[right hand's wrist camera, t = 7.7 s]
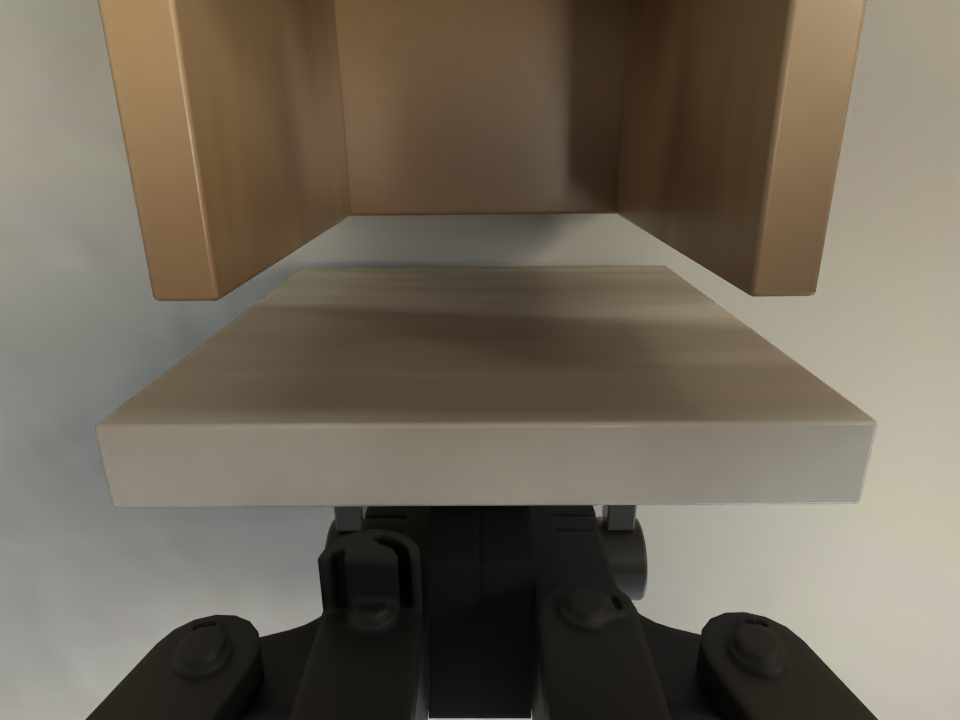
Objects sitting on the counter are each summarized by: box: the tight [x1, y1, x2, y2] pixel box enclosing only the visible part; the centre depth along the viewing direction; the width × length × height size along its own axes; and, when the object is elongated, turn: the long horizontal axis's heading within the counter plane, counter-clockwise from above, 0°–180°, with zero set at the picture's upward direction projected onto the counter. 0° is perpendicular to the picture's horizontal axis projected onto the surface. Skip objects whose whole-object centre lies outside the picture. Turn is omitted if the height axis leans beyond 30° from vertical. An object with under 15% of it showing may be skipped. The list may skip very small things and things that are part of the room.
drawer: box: [95, 0, 877, 600], centre depth 11 cm, size 22×10×10 cm, turn 0°
